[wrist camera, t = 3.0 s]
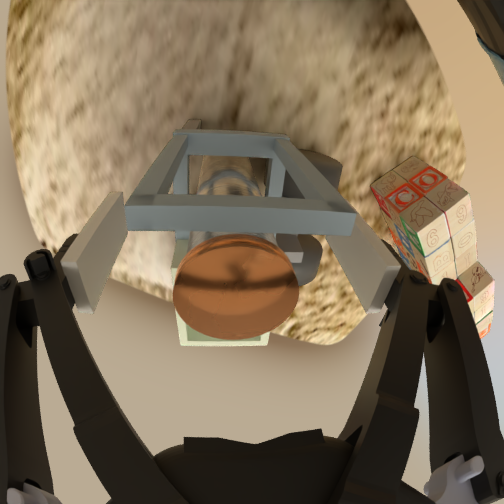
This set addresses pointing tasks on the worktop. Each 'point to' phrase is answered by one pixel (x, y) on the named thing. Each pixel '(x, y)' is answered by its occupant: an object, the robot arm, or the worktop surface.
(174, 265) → the tray
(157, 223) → the cart
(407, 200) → the stack of blocks
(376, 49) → the worktop surface
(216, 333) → the orange capped bottle
